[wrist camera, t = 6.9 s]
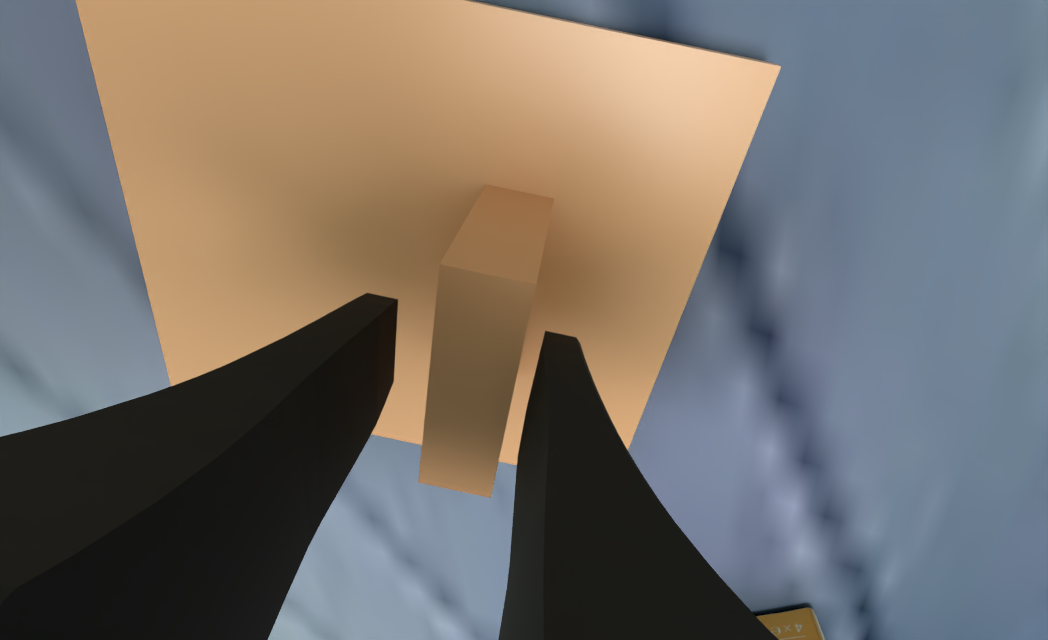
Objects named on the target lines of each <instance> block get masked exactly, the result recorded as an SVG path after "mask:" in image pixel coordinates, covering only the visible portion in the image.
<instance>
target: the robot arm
mask: <svg viewBox="0 0 1048 640" xmlns="http://www.w3.org/2000/svg"><path fill="white" fill-rule="evenodd" d="M397 311H398V299H394V298H390V297H385V296H380V295H375V294H371V293H366V294H364V295H362V296H359V297H358V298H356V299H354V300H352V301H350V302H348V303H346V304H345V305H343V306H341V307H339V308H337V309H336V310H334V311H332V312H330V313H328V314H327V315H325V316H323V317H321V318H319V319H317V320H316V321H314V322H312V323H310V324H308V325H306V326H304V327H302V328H301V329H299V330H297V331H295V332H293V333H291V334H289V335H287V336H285V337H284V338H282V339H279V340H277V341H275V342H273V343H271V344H269V345H267V346H265V347H263V348H260V349H258V350H256V351H254V352H252V353H250V354H248V355H246V356H244V357H242V358H239V359H237V360H235V361H233V362H231V363H229V364H226V365H224V366H222V367H219V368H217V369H215V370H212V371H210V372H207V373H205V374H202V375H200V376H197V377H195V378H192V379H189V380H187V381H184V382H182V383H179V384H176V385H174V386H171V387H168V388H166V389H163V390H160V391H157V392H154V393H151V394H149V395H145V396H142V397H139V398H136V399H133V400H129V401H126V402H123V403H120V404H117V405H113V406H110V407H107V408H104V409H101V410H97V411H94V412H91V413H88V414H85V415H82V416H78V417H75V418H71V419H68V420H64V421H60V422H57V423H53V424H49V425H45V426H42V427H38V428H34V429H30V430H27V431H23V432H19V433H14V434H10V435H6V436H2V437H0V640H268V637H269V635H270V633H271V630H272V628H273V626H274V623H275V621H276V619H277V616H278V614H279V612H280V609H281V607H282V605H283V602H284V600H285V598H286V595H287V593H288V591H289V589H290V586H291V584H292V582H293V580H294V577H295V575H296V573H297V571H298V569H299V566H300V564H301V562H302V560H303V557H304V555H305V553H306V551H307V548H308V546H309V544H310V542H311V540H312V538H313V537H314V535H315V533H316V531H317V529H318V527H319V525H320V523H321V521H322V519H323V518H324V516H325V514H326V512H327V511H328V509H329V507H330V505H331V504H332V502H333V500H334V498H335V497H336V495H337V493H338V491H339V490H340V488H341V486H342V484H343V483H344V481H345V479H346V477H347V476H348V474H349V472H350V470H351V469H352V467H353V465H354V464H355V462H356V460H357V458H358V456H359V455H360V453H361V451H362V449H363V448H364V446H365V444H366V442H367V441H368V439H369V437H370V435H371V433H372V432H373V430H374V428H375V426H376V424H377V422H378V419H379V417H380V415H381V412H382V410H383V408H384V405H385V403H386V400H387V398H388V395H389V392H390V390H391V387H392V385H393V382H394V368H395V349H396V330H397ZM499 640H779V639H778V638H777V637H776V636H775V635H774V634H772V633H771V632H770V631H769V630H768V629H767V628H766V627H765V625H764V624H763V623H762V622H761V621H760V620H759V619H758V618H757V617H756V616H755V615H754V614H753V613H752V612H751V611H750V609H749V608H748V607H747V606H746V605H745V604H744V603H743V602H742V601H741V600H740V599H739V598H738V596H737V595H736V594H735V593H734V592H733V591H732V590H731V589H730V588H729V587H728V586H727V584H726V583H725V582H724V581H723V580H722V579H721V578H720V577H719V575H718V574H717V573H716V572H715V571H714V570H713V568H712V567H711V566H710V565H709V564H708V563H707V561H706V560H705V559H704V558H703V556H702V555H701V554H700V553H699V551H698V550H697V549H696V548H695V546H694V545H693V544H692V543H691V541H690V540H689V539H688V538H687V537H686V535H685V534H684V533H683V532H682V530H681V529H680V528H679V527H678V525H677V524H676V523H675V522H674V520H673V519H672V517H671V516H670V515H669V513H668V512H667V511H666V509H665V508H664V506H663V505H662V504H661V502H660V501H659V499H658V498H657V496H656V495H655V493H654V492H653V490H652V489H651V487H650V486H649V484H648V483H647V481H646V480H645V478H644V477H643V475H642V474H641V472H640V470H639V469H638V467H637V466H636V464H635V462H634V460H633V459H632V457H631V455H630V454H629V452H628V450H627V448H626V446H625V445H624V443H623V441H622V439H621V437H620V436H619V434H618V432H617V430H616V428H615V426H614V424H613V422H612V420H611V418H610V416H609V414H608V412H607V410H606V408H605V405H604V403H603V401H602V399H601V397H600V395H599V393H598V390H597V388H596V386H595V383H594V381H593V378H592V376H591V373H590V371H589V368H588V365H587V362H586V360H585V357H584V354H583V350H582V347H581V344H580V342H579V340H578V339H577V337H573V336H568V335H563V334H558V333H554V332H549V331H545V333H544V337H543V342H542V346H541V350H540V354H539V358H538V363H537V367H536V371H535V375H534V379H533V384H532V388H531V392H530V396H529V400H528V404H527V409H526V414H525V419H524V424H523V430H522V435H521V441H520V446H519V452H518V460H517V473H516V486H515V500H514V513H513V527H512V541H511V554H510V566H509V575H508V584H507V591H506V597H505V603H504V610H503V616H502V622H501V628H500V634H499Z"/></svg>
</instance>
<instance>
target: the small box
mask: <svg viewBox="0 0 1048 640" xmlns="http://www.w3.org/2000/svg"><path fill="white" fill-rule="evenodd" d="M756 617H757V618H758V619H759V620H760V621H761V622H762V623H763V624H764V625H765V627H766V628H767V629H768V630H769V631H770V632H771V633H772V634H774V635H775V636H776V637H777V638H778V639H779V640H825V638H824V635H823V632H822V630H821V627H820V625H819V622H818V620H817V617H816V615H815V613H814V611H813V609H811V608H802V609H797V610H792V611H787V612H781V613H774V614H767V615H761V616H756Z"/></svg>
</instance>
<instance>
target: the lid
mask: <svg viewBox="0 0 1048 640" xmlns="http://www.w3.org/2000/svg"><path fill="white" fill-rule="evenodd" d="M76 4H77V8H78V12H79V16H80V20H81V24H82V28H83V32H84V36H85V40H86V44H87V48H88V52H89V56H90V61H91V65H92V69H93V73H94V77H95V81H96V85H97V89H98V93H99V97H100V101H101V105H102V109H103V113H104V117H105V121H106V125H107V129H108V133H109V137H110V141H111V145H112V149H113V154H114V158H115V162H116V166H117V170H118V174H119V178H120V182H121V186H122V190H123V194H124V198H125V202H126V206H127V210H128V214H129V218H130V222H131V226H132V230H133V234H134V238H135V242H136V247H137V251H138V255H139V259H140V263H141V267H142V271H143V275H144V279H145V283H146V287H147V291H148V295H149V299H150V303H151V307H152V311H153V315H154V319H155V323H156V327H157V331H158V335H159V340H160V344H161V348H162V352H163V356H164V360H165V364H166V368H167V372H168V376H169V380H170V384H171V386H174V385H176V384H179V383H182V382H184V381H187V380H189V379H192V378H195V377H197V376H200V375H202V374H205V373H207V372H210V371H212V370H215V369H217V368H219V367H222V366H224V365H226V364H229V363H231V362H233V361H235V360H237V359H239V358H242V357H244V356H246V355H248V354H250V353H252V352H254V351H256V350H258V349H260V348H263V347H265V346H267V345H269V344H271V343H273V342H275V341H277V340H279V339H282V338H284V337H285V336H287V335H289V334H291V333H293V332H295V331H297V330H299V329H301V328H302V327H304V326H306V325H308V324H310V323H312V322H314V321H316V320H317V319H319V318H321V317H323V316H325V315H327V314H328V313H330V312H332V311H334V310H336V309H337V308H339V307H341V306H343V305H345V304H346V303H348V302H350V301H352V300H354V299H356V298H358V297H359V296H362V295H364V294H366V293H371V294H375V295H380V296H385V297H390V298H394V299H398V311H397V330H396V349H395V368H394V382H393V385H392V387H391V390H390V392H389V395H388V398H387V400H386V403H385V405H384V408H383V410H382V412H381V415H380V417H379V419H378V422H377V424H376V426H375V428H374V430H373V432H372V433H371V434H373V435H377V436H382V437H387V438H392V439H396V440H401V441H406V442H410V443H415V444H420V445H422V450H421V461H420V471H419V481H418V482H419V483H424V484H429V485H433V486H438V487H443V488H447V489H452V490H457V491H461V492H466V493H471V494H475V495H480V496H485V497H489V498H491V494H492V490H493V485H494V480H495V476H496V471H497V466H498V462H499V461H500V462H504V463H509V464H514V465H517V460H518V452H519V446H520V441H521V435H522V430H523V424H524V419H525V414H526V409H527V404H528V400H529V396H530V392H531V388H532V384H533V379H534V375H535V371H536V367H537V363H538V358H539V354H540V350H541V346H542V342H543V337H544V333H545V331H549V332H554V333H558V334H563V335H568V336H573V337H577V339H578V340H579V342H580V344H581V347H582V350H583V354H584V357H585V360H586V362H587V365H588V368H589V371H590V373H591V376H592V378H593V381H594V383H595V386H596V388H597V390H598V393H599V395H600V397H601V399H602V401H603V403H604V405H605V408H606V410H607V412H608V414H609V416H610V418H611V420H612V422H613V424H614V426H615V428H616V430H617V432H618V434H619V436H620V437H621V439H622V441H623V443H624V445H625V446H626V448H627V450H628V448H629V446H630V443H631V441H632V438H633V436H634V433H635V431H636V428H637V426H638V423H639V421H640V418H641V416H642V413H643V411H644V408H645V406H646V403H647V401H648V398H649V396H650V393H651V391H652V388H653V386H654V383H655V381H656V378H657V376H658V373H659V371H660V368H661V366H662V363H663V361H664V358H665V356H666V353H667V351H668V348H669V346H670V343H671V341H672V338H673V336H674V333H675V331H676V328H677V326H678V323H679V321H680V318H681V316H682V313H683V311H684V308H685V306H686V303H687V301H688V298H689V296H690V293H691V291H692V288H693V286H694V283H695V281H696V278H697V276H698V273H699V271H700V268H701V266H702V263H703V261H704V258H705V256H706V253H707V251H708V248H709V246H710V243H711V241H712V238H713V236H714V233H715V231H716V228H717V226H718V223H719V221H720V218H721V216H722V213H723V211H724V208H725V206H726V203H727V201H728V198H729V196H730V193H731V191H732V188H733V186H734V183H735V181H736V178H737V176H738V173H739V171H740V168H741V166H742V163H743V161H744V158H745V156H746V153H747V151H748V148H749V146H750V143H751V141H752V138H753V136H754V133H755V131H756V128H757V126H758V123H759V121H760V118H761V116H762V113H763V111H764V108H765V106H766V103H767V101H768V98H769V96H770V93H771V91H772V88H773V86H774V83H775V81H776V78H777V76H778V73H779V71H780V68H781V66H779V65H776V64H773V63H771V62H767V61H762V60H758V59H753V58H748V57H743V56H738V55H734V54H729V53H724V52H719V51H714V50H710V49H705V48H700V47H695V46H690V45H686V44H681V43H676V42H671V41H666V40H662V39H657V38H652V37H647V36H642V35H638V34H633V33H628V32H623V31H618V30H614V29H609V28H604V27H599V26H594V25H590V24H585V23H580V22H575V21H570V20H566V19H561V18H556V17H551V16H546V15H542V14H537V13H532V12H527V11H522V10H518V9H513V8H508V7H503V6H498V5H494V4H489V3H484V2H479V1H474V0H76Z"/></svg>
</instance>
